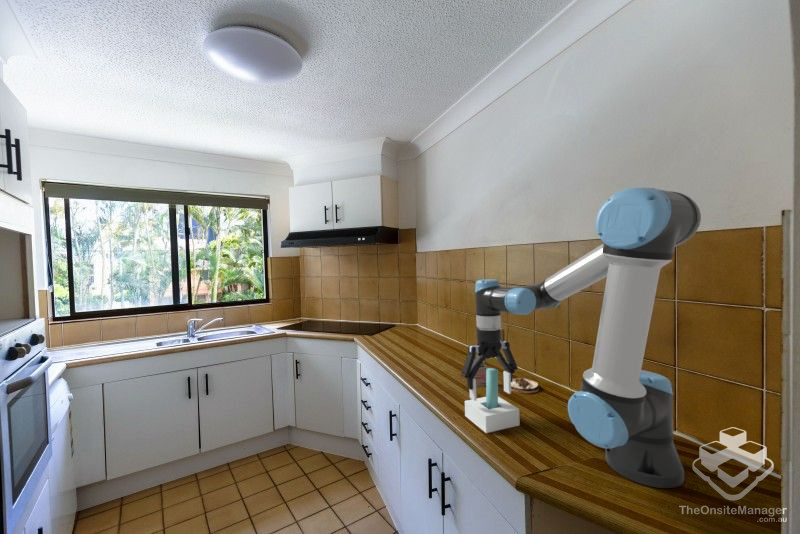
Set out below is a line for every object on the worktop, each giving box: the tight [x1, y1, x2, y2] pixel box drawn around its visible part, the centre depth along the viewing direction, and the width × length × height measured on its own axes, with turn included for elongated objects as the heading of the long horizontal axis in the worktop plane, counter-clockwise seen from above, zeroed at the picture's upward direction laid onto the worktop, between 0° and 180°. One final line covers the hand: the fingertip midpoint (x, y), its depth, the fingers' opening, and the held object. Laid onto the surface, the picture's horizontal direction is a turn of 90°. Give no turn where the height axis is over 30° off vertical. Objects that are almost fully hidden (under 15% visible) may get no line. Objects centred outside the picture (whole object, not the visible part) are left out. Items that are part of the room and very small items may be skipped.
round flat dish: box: [511, 377, 540, 395], centre depth 131 cm, size 15×15×4 cm
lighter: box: [473, 361, 488, 387], centre depth 136 cm, size 8×3×10 cm, turn 84°
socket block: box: [464, 396, 521, 434], centre depth 105 cm, size 12×12×5 cm
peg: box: [485, 367, 499, 409], centre depth 105 cm, size 4×4×16 cm
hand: (490, 395), depth 105 cm, fingers open, 12 cm apart
